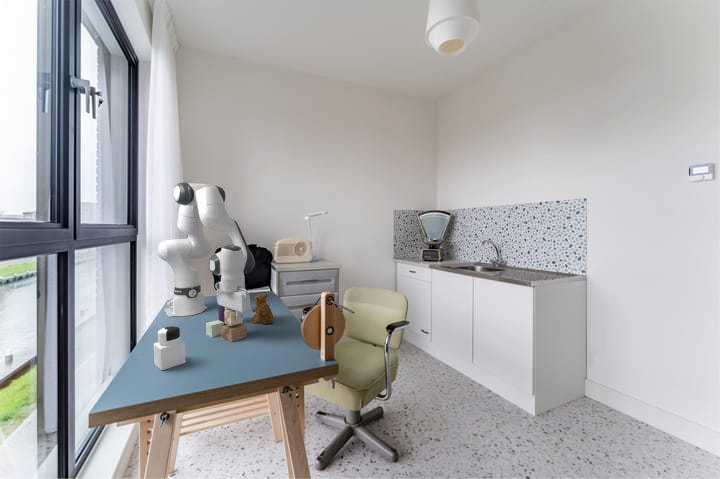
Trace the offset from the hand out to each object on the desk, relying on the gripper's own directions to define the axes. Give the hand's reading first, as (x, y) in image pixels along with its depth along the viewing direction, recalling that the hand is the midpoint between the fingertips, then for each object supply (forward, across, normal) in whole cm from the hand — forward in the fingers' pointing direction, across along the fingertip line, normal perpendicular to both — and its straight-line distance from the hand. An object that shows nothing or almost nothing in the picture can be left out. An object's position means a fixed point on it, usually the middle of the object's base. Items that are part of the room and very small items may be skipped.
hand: (233, 319), depth 120 cm
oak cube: (+2, 0, 0) cm, 2 cm away
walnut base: (+8, 0, 0) cm, 8 cm away
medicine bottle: (+8, -5, +25) cm, 27 cm away
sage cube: (+8, +10, +3) cm, 13 cm away
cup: (+8, +19, -6) cm, 21 cm away
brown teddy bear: (+8, +7, -19) cm, 22 cm away
